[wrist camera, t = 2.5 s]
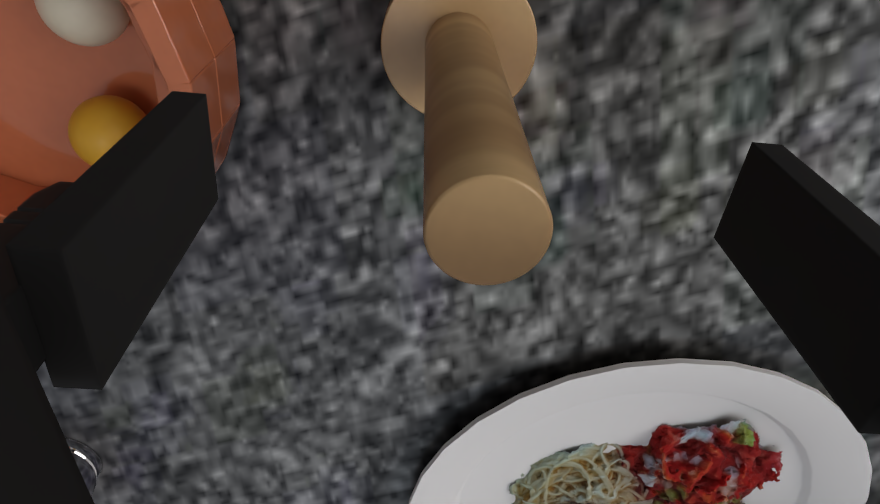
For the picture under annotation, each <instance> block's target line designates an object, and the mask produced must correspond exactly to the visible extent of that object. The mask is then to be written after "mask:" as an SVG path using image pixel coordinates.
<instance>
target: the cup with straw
mask: <svg viewBox="0 0 880 504" xmlns="http://www.w3.org/2000/svg"><path fill="white" fill-rule="evenodd" d="M65 439H66V441H67V443H68V446H69V448H70V450H71V452H72V455H73V457H74V459H75V461H76V464H77V466H78V468H79V470H80V473H81V475H82V477H83V479H84V482H85V484H86V486H87V488H88V490H89V493H90V495H91V497H92V494H93V492H94V489H95V486H96V478H97V477H98V475H99V474H100V473H101V470H102V462H101V459H100V458H99V456H98V455H97V454H96V453H95V452H94V451H93V450H92V449H91V448H89V447H88V446H86V445H84V444H82V443H80V442H78V441H75V440H72V439H69V438H65Z"/></svg>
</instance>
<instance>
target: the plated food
mask: <svg viewBox="0 0 880 504" xmlns="http://www.w3.org/2000/svg"><path fill="white" fill-rule="evenodd" d="M871 475H872V467H871V462H870V458H869V453H868V449H867V444H866V442H865V440H864V439H863V437H862V436H861V434H860V433H858V432H857V430H856V429H855V428H854V426H853V425H852V424H851V422H850V421H849V420H848V418H847V417H846V416H845V414H844V413H843V412H842V410H841V409H840V407H839V406H837V405H836V404H835V403H834V402H832V401H831V400H830V399H829V398H827V397H826V396H825V395H824V394H822V393H821V392H820V391H819V390H817V389H815V388H813V387H811V386H808V385H806V384H804V383H802V382H800V381H797V380H795V379H793V378H791V377H788V376H786V375H784V374H782V373H780V372H776V371H772V370H767V369H763V368H758V367H754V366H750V365H745V364H741V363H737V362H732V361H717V360H701V359H684V358H674V359H663V360H651V361H639V362H627V363H620V364H616V365H611V366H607V367H602V368H598V369H593V370H589V371H584V372H580V373H576V374H571V375H567V376H565V377H562V378H559V379H557V380H554V381H552V382H549V383H546V384H544V385H541V386H538V387H536V388H533V389H530V390H528V391H525V392H522V393H520V394H518V395H516V396H514V397H512V398H511V399H509V400H507V401H505V402H503V403H502V404H500V405H498V406H496V407H494V408H493V409H491V410H489V411H487V412H486V413H484V414H482V415H480V416H478V417H477V418H476V419H474V420H473V421H472V422H471V423H469V424H468V425H467V426H466V427H464V428H463V429H462V430H461V431H460V432H458V433H457V434H456V435H455V436H453V437H452V438H451V439H450V440H448V441H447V442H446V443H445V444H444V445H443V446H442V447H441V449H440V450H439V451H438V452H437V454H436V455H435V456H434V457H433V459H432V460H431V461H430V462H429V463H428V465H427V466H426V467H425V468H424V470H423V471H422V472H421V474H420V477H419V479H418V481H417V483H416V486H415V488H414V490H413V492H412V495H411V497H410V499H409V504H866V501H867V499H868V496H869V489H870V482H871Z"/></svg>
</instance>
